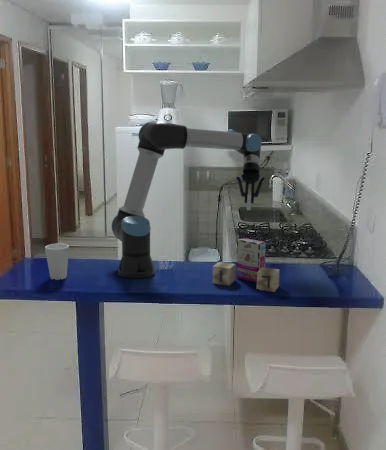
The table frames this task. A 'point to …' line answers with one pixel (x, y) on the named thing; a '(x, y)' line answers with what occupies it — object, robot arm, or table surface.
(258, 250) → the candy bar box
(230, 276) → the wooden character cube
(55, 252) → the foam cup
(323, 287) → the table surface
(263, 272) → the light wood cube
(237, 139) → the robot arm
